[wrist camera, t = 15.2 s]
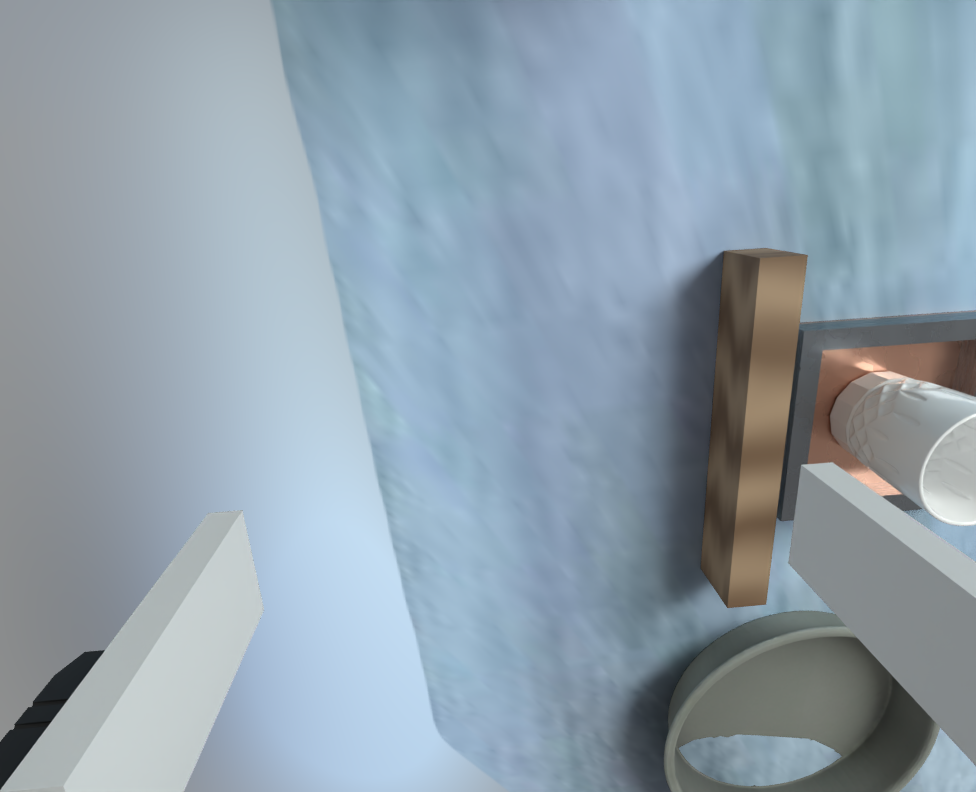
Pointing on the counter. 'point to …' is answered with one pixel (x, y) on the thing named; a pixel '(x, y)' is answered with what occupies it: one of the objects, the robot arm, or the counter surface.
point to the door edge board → (750, 418)
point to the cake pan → (800, 705)
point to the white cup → (913, 440)
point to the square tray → (852, 354)
